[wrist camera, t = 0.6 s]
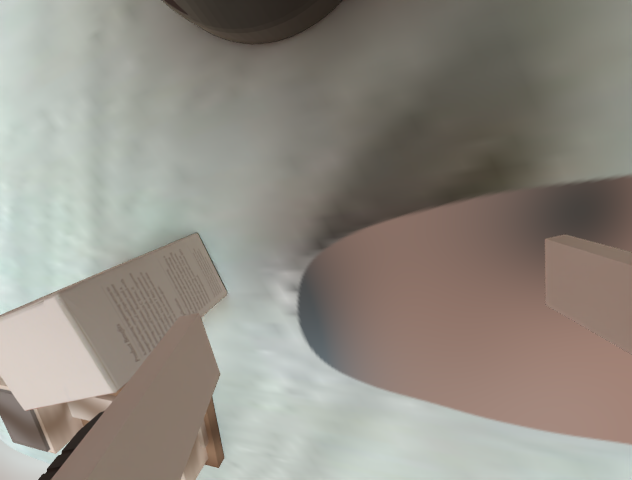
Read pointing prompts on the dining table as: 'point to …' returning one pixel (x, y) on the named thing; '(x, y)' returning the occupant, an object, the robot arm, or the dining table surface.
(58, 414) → the board
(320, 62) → the dining table surface
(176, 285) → the small box
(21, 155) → the dining table surface
